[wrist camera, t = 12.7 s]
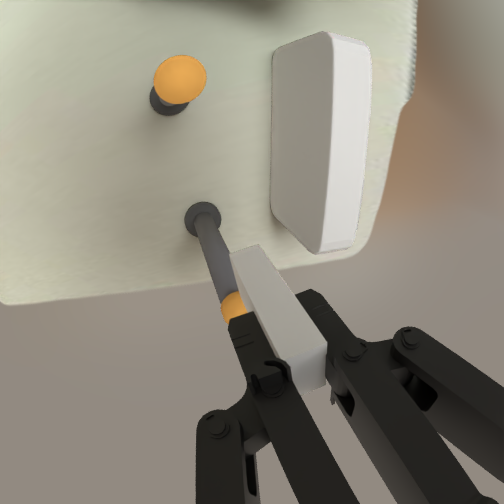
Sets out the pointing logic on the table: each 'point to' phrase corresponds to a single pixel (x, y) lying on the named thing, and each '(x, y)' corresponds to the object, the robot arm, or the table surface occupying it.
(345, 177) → the rounded white slab
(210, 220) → the cable post
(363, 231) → the table surface
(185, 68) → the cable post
